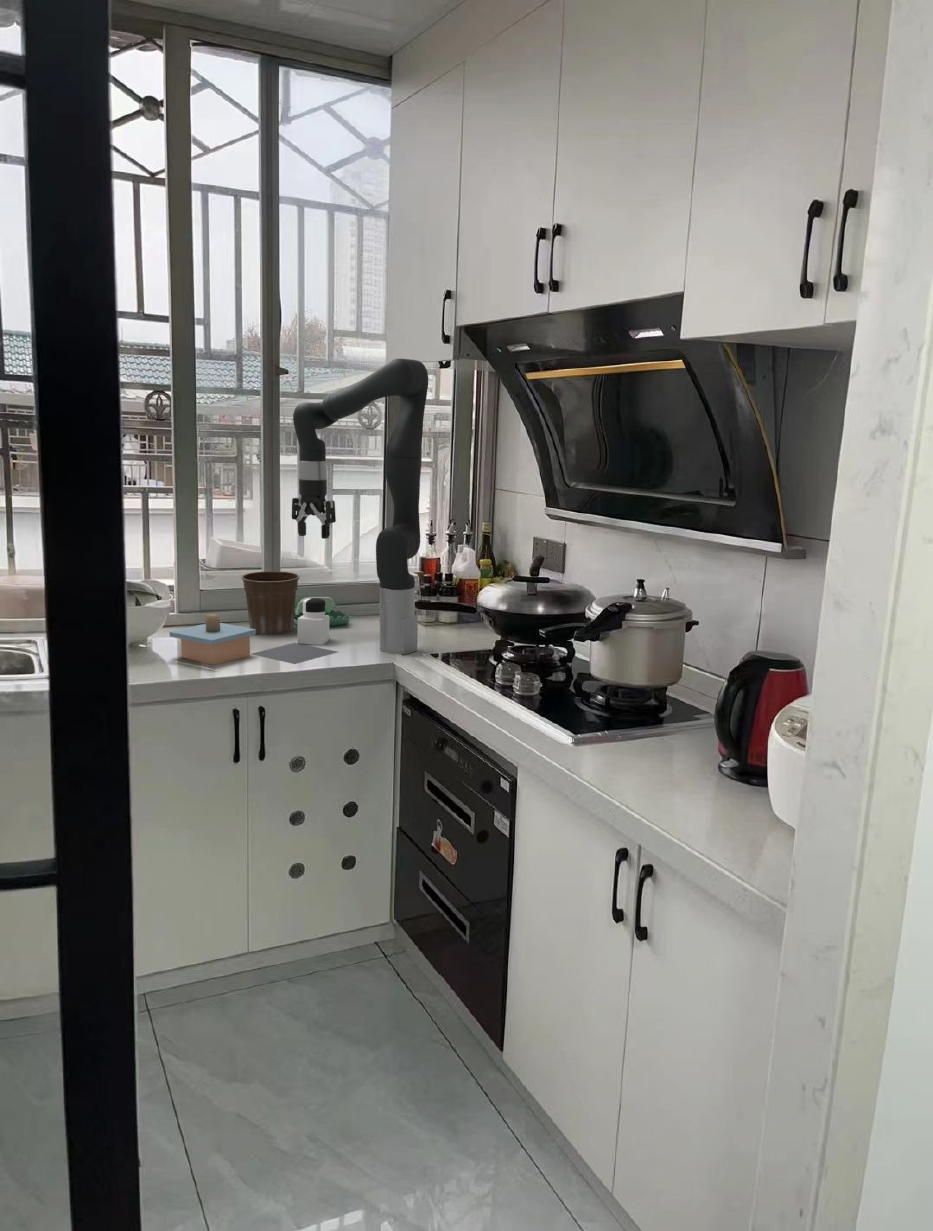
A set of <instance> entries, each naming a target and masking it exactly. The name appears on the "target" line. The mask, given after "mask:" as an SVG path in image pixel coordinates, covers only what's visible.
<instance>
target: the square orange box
mask: <svg viewBox="0 0 933 1231" xmlns="http://www.w3.org/2000/svg"><path fill="white" fill-rule="evenodd" d="M250 636H251V635H250ZM250 636H246V637H242V638H238V639H234V640H230V641H226V642H222V643H218V644H214V645H209V644H204V643H199V642H194V641H189V640H184V639H180V643H181V644H180V647H181V658H184V659H187V660H188V659H189V660H193V661H196V662H200V663H204V664H209V665H212V666H213V665H214V666H215V665H218V664H219V665H220V664H223V663H226V662H230V661H234V660H237V659H241V658H246V657H250V656H251V640H250V639H251V637H250Z"/></svg>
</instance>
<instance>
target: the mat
mask: <svg viewBox="0 0 933 1231" xmlns="http://www.w3.org/2000/svg"><path fill="white" fill-rule="evenodd" d="M336 653H338V651H336V650H332V649H328V648H323V647H317V646H313V645H309V644H298V643H297V642H293V643H292V642H291V643H289V644H288V643H287V644H285V645H280V646H276V647H273V648H268V649H264V650H259V651H256V652H252V653H251V655H253V656H257V657H261V658H262V657H263V658H267V659H271V660H275V661H280V662H283V663H288V664H291V665H292V664H293V665H296V664H301V663H303V662H307V661H308V662H309V661H311V660H315V659H318V658H322V657H327V656H329V655H333V654H336Z"/></svg>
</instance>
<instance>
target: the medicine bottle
mask: <svg viewBox="0 0 933 1231" xmlns="http://www.w3.org/2000/svg"><path fill="white" fill-rule="evenodd" d="M302 614H303V615H300V616H299V617H298V618H297V636H296V638H297V640H296V643H298V644H304V645H309V646H313V645H314V646H315V645H316V646H323V645H325V644H326V643H327V642H328V641H329V640H330V621H331V620H330V618H331V617H330V615H327V614H326V601H325V600H324V599H323V598H318V597H309V598H306V599H303V600H302Z"/></svg>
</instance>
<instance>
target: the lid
mask: <svg viewBox="0 0 933 1231" xmlns="http://www.w3.org/2000/svg"><path fill="white" fill-rule="evenodd" d="M204 619H205V620H204V622H205V623H203V624H199V625H198V624H197V625H194V626H190V627H185V628H180V629H176V630H172V631H169V632H168V633H169V637H170V638H176V639H180V640H181V639H184V640H189V641H194V642H199V643H204V644H209V645H214V644H218V643H222V642H226V641H230V640H234V639H238V638H242V637H246V636H253V635H257V634H256V629H251V628H250V627H245V626H241V625H240V626H239V625H234V624H229V623H224V622H223V623H222V622H221V614H219V613H207V614H205V615H204Z"/></svg>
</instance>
